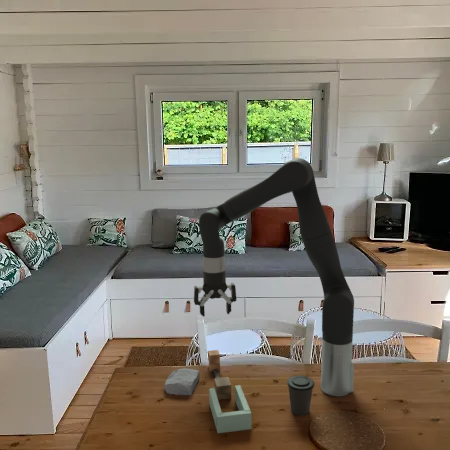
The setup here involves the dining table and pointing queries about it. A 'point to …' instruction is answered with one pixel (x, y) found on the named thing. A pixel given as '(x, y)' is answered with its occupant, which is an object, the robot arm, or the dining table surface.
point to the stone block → (182, 382)
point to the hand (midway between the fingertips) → (215, 314)
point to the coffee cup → (300, 394)
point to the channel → (230, 413)
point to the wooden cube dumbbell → (220, 384)
